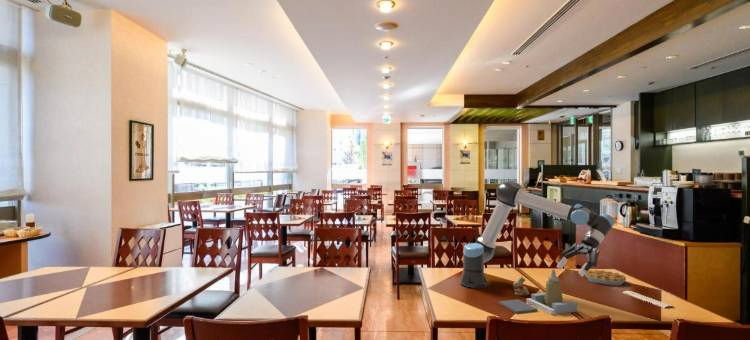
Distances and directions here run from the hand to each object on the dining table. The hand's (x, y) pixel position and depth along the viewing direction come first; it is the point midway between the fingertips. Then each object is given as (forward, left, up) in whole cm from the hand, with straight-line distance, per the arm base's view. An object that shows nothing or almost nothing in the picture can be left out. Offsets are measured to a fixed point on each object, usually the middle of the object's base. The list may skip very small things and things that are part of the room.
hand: (568, 271), depth 181 cm
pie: (-29, +55, -17) cm, 64 cm away
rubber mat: (-5, -27, -17) cm, 32 cm away
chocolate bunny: (-21, -12, -17) cm, 29 cm away
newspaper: (+4, +47, -18) cm, 50 cm away
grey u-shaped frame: (-1, -10, -17) cm, 20 cm away
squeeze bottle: (-1, -9, -17) cm, 19 cm away
